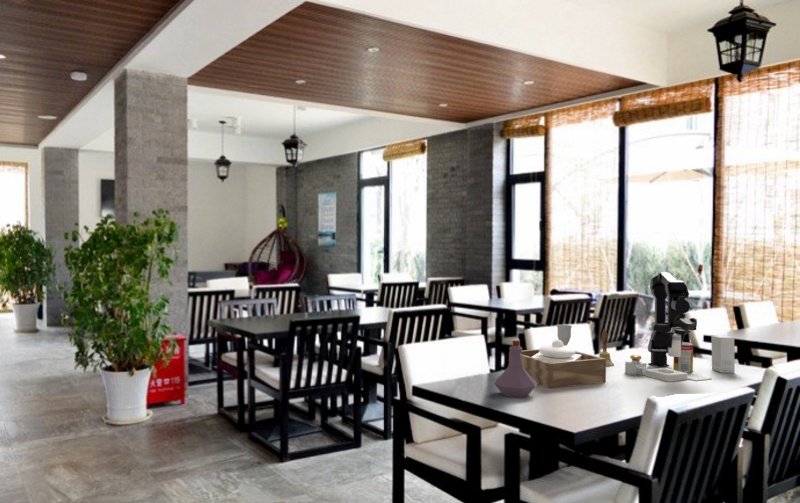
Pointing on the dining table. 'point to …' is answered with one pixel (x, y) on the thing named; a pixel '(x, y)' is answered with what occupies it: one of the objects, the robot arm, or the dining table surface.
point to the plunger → (635, 358)
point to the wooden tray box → (564, 370)
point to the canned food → (684, 358)
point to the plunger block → (635, 368)
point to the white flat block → (666, 374)
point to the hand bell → (605, 350)
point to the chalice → (564, 333)
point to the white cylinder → (675, 346)
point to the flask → (515, 376)
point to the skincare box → (723, 353)
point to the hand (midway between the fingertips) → (674, 347)
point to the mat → (697, 377)
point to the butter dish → (557, 353)
